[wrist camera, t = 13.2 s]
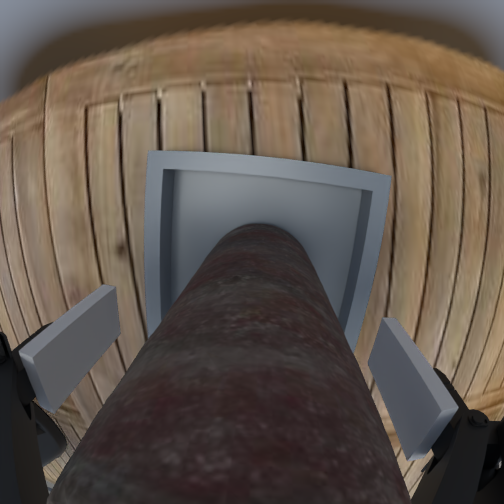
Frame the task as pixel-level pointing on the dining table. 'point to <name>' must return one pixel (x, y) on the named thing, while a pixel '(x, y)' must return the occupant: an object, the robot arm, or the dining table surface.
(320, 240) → the tray
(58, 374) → the robot arm
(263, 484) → the brown rough cylinder
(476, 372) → the dining table surface
